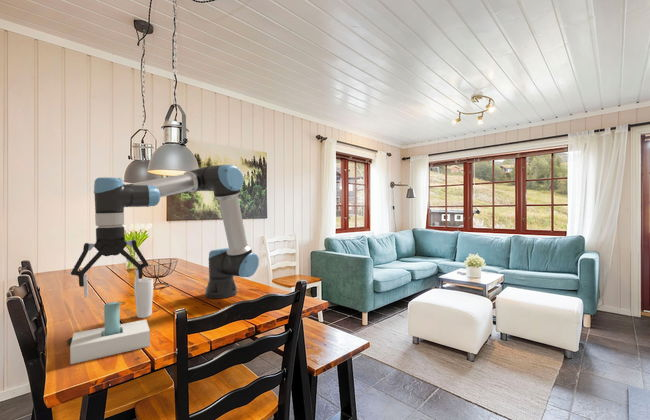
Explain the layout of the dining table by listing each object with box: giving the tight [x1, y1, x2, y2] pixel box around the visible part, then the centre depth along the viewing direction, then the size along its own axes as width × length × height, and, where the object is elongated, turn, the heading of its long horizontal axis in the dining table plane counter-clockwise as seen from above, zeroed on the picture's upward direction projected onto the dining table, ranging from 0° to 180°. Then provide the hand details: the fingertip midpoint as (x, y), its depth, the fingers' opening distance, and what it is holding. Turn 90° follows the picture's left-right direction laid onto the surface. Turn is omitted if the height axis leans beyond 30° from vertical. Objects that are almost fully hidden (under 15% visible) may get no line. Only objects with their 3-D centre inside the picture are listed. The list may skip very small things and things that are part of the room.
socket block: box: [69, 319, 151, 365], centre depth 100 cm, size 20×12×5 cm, turn 125°
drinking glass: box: [133, 277, 154, 319], centre depth 128 cm, size 7×7×15 cm
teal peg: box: [103, 301, 121, 336], centre depth 100 cm, size 4×4×14 cm
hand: (112, 292), depth 100 cm, fingers open, 13 cm apart
